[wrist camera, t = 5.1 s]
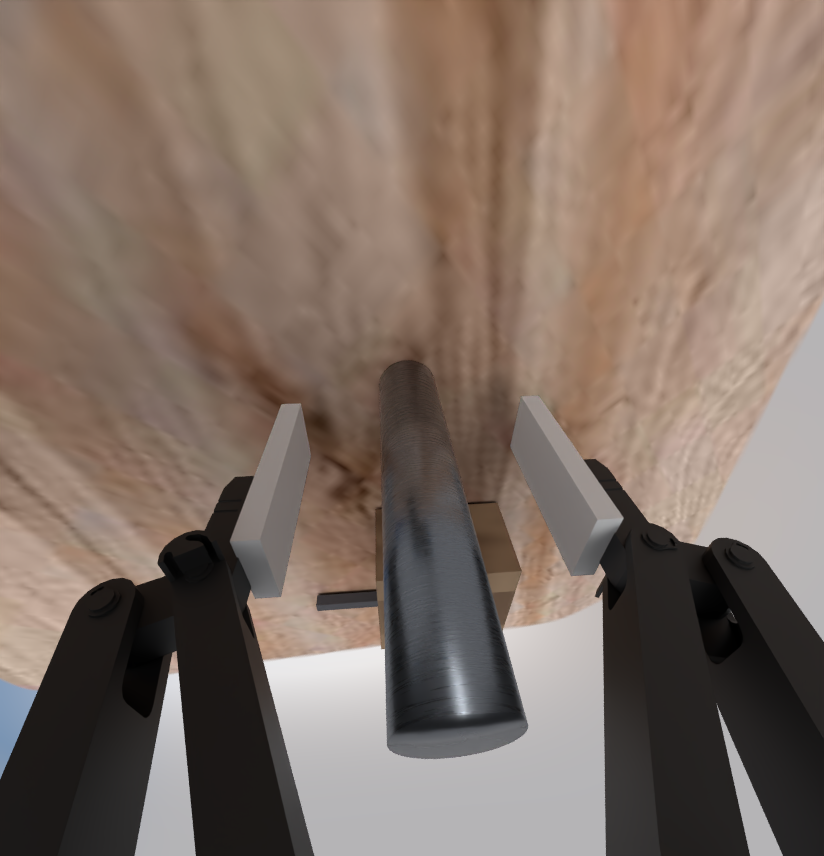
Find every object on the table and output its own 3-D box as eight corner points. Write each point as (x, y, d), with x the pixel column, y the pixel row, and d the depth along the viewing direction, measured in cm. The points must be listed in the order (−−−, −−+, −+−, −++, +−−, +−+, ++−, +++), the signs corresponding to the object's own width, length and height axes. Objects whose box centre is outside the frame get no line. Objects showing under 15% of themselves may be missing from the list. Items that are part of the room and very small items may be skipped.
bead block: (380, 579, 28) (381, 649, 24) (375, 509, 24) (375, 581, 20) (482, 572, 29) (499, 639, 25) (497, 502, 24) (521, 570, 20)
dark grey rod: (318, 601, 29) (317, 610, 29) (317, 595, 29) (316, 605, 28) (490, 588, 30) (493, 597, 30) (491, 583, 30) (494, 592, 29)
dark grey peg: (380, 410, 19) (389, 763, 8) (378, 361, 18) (384, 720, 6) (433, 408, 19) (514, 750, 8) (436, 360, 18) (541, 705, 7)
